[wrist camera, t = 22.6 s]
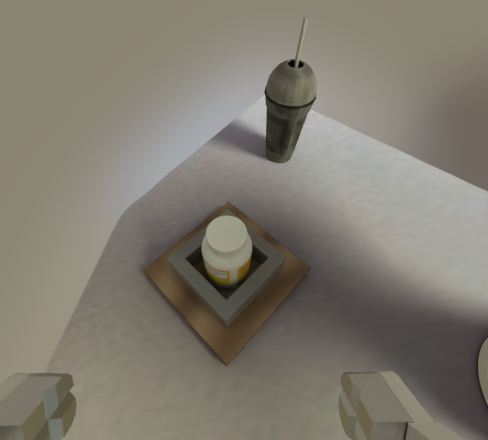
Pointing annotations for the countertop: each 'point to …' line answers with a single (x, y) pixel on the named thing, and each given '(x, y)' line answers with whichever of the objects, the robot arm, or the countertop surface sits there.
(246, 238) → the supplement bottle
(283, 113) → the beverage cup
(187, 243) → the collar socket
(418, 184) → the countertop surface
